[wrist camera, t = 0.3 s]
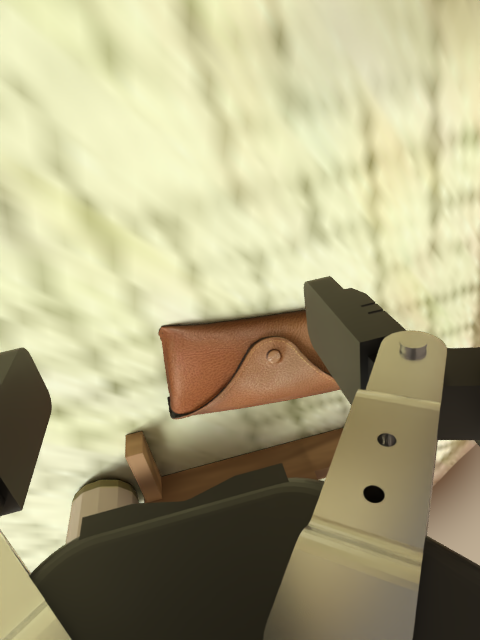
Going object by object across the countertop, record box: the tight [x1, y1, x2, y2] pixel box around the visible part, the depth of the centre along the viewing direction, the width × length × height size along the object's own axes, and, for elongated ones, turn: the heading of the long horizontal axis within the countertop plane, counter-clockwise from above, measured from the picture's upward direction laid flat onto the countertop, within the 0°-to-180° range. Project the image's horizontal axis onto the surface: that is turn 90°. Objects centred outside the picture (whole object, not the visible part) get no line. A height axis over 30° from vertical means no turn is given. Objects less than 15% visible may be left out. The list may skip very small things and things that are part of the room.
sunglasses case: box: [158, 310, 340, 419], centre depth 36 cm, size 18×7×7 cm
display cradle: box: [125, 428, 344, 503], centre depth 39 cm, size 8×28×6 cm, turn 98°
